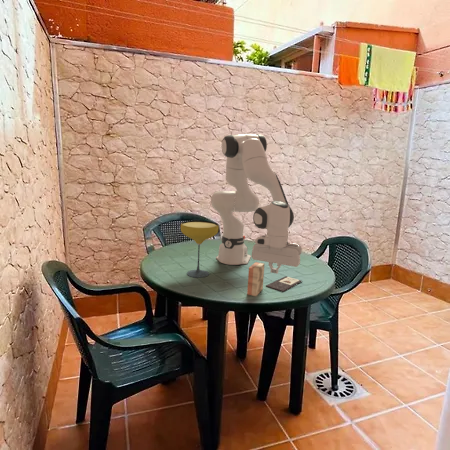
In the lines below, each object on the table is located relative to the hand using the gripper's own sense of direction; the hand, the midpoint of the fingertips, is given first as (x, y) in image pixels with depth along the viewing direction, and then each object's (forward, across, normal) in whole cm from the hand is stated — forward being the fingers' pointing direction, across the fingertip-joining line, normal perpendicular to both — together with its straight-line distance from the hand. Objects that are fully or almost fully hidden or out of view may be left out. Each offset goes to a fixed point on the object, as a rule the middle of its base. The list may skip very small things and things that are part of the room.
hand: (274, 272), depth 144 cm
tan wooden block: (+10, +8, 0) cm, 13 cm away
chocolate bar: (+11, -1, -16) cm, 19 cm away
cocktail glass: (+10, +40, -7) cm, 42 cm away
